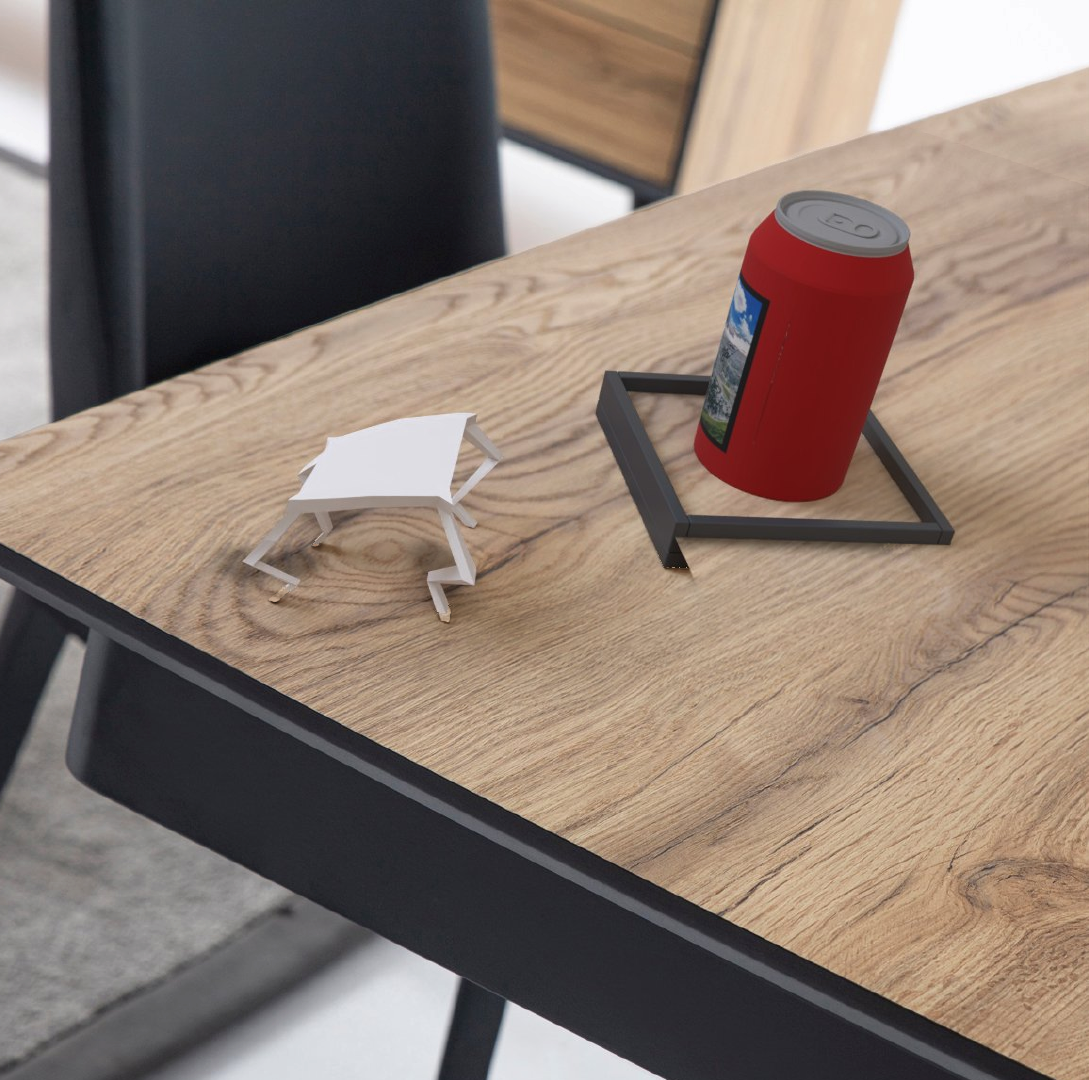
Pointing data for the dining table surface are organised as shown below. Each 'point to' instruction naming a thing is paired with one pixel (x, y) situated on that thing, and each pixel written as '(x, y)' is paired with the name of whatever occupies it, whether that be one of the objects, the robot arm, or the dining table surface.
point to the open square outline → (671, 520)
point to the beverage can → (804, 345)
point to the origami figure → (391, 485)
